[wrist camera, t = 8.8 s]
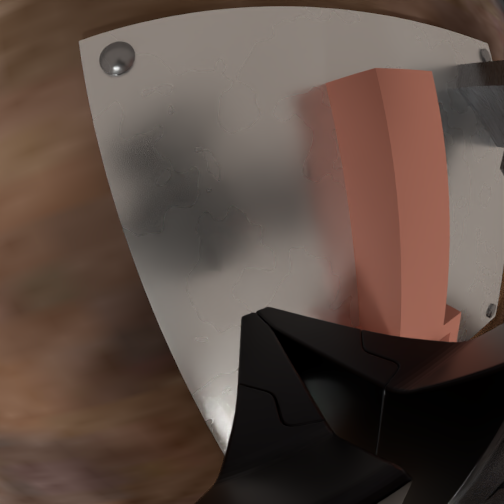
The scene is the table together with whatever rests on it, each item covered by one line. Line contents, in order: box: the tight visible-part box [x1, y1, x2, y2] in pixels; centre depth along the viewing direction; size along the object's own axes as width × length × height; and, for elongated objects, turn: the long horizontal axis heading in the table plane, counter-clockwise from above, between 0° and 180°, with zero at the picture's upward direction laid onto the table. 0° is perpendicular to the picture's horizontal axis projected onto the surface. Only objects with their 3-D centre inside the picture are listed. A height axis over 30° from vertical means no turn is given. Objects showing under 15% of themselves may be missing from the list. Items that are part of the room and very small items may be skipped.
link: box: [325, 68, 461, 342], centre depth 13 cm, size 17×6×3 cm, turn 14°
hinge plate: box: [79, 6, 504, 455], centre depth 14 cm, size 22×24×1 cm
